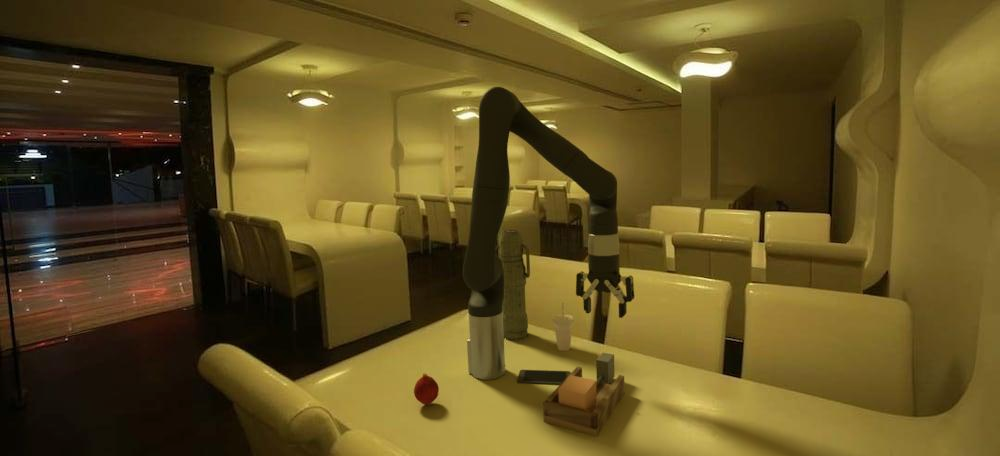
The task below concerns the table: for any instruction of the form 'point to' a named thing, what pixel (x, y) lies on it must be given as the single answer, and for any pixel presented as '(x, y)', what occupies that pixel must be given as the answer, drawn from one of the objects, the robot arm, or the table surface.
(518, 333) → the thermos
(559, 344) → the smoothie
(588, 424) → the wooden crate
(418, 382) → the onion
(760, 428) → the table surface
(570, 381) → the block
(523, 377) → the cell phone
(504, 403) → the table surface
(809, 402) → the table surface
